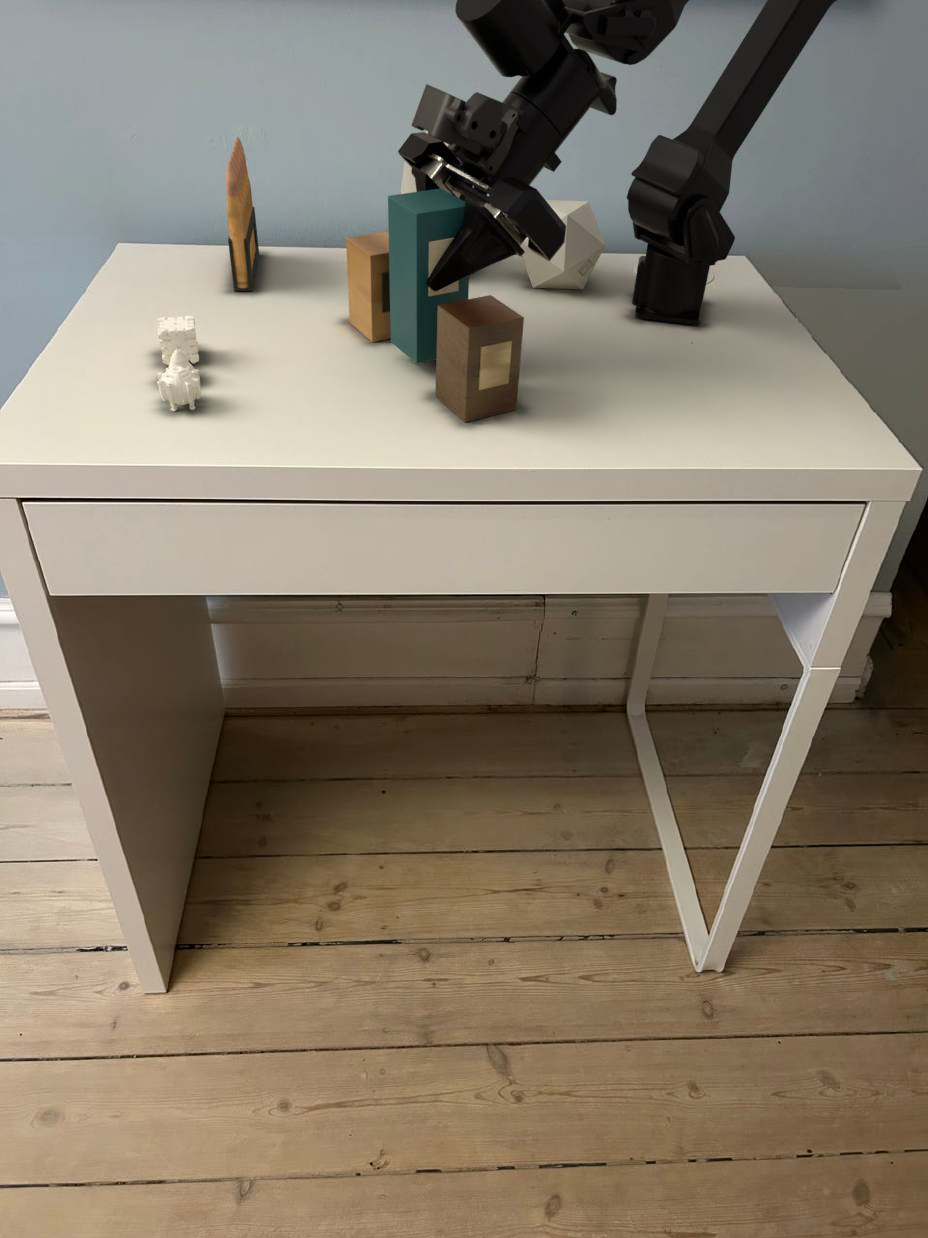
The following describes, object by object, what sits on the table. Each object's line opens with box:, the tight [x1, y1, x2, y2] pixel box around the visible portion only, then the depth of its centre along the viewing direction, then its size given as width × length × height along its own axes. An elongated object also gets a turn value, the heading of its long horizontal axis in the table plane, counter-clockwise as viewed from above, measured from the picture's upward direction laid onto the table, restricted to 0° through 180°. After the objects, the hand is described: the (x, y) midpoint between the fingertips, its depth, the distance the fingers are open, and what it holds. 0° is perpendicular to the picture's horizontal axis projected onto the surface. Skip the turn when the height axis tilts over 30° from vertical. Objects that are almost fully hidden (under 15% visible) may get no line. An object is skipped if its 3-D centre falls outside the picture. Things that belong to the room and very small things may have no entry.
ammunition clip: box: [225, 136, 260, 292], centre depth 97 cm, size 11×2×12 cm, turn 5°
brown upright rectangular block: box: [435, 294, 525, 423], centre depth 78 cm, size 5×5×8 cm
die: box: [520, 199, 606, 290], centre depth 99 cm, size 8×9×10 cm
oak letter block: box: [345, 231, 391, 343], centre depth 89 cm, size 5×5×8 cm
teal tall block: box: [387, 189, 470, 365], centre depth 81 cm, size 5×5×12 cm
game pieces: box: [156, 314, 201, 412], centre depth 80 cm, size 12×3×3 cm, turn 13°
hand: (414, 276), depth 80 cm, fingers closed on teal tall block, 5 cm apart
